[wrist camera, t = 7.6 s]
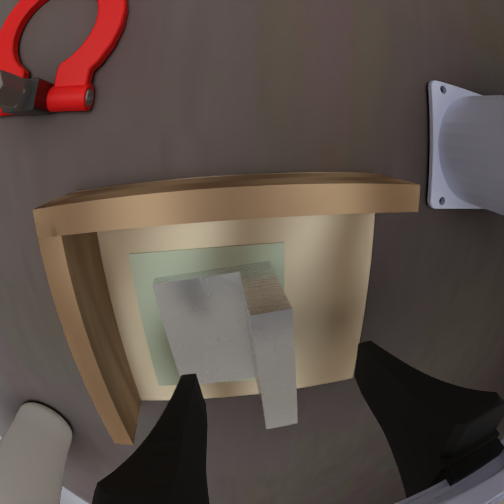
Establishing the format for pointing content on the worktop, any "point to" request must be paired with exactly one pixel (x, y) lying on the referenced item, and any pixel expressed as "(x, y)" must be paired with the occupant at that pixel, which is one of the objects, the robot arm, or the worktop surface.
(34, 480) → the drinking glass
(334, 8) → the worktop surface
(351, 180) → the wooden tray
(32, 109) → the tow hook
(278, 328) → the bracket
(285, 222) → the board
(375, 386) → the robot arm
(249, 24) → the worktop surface
